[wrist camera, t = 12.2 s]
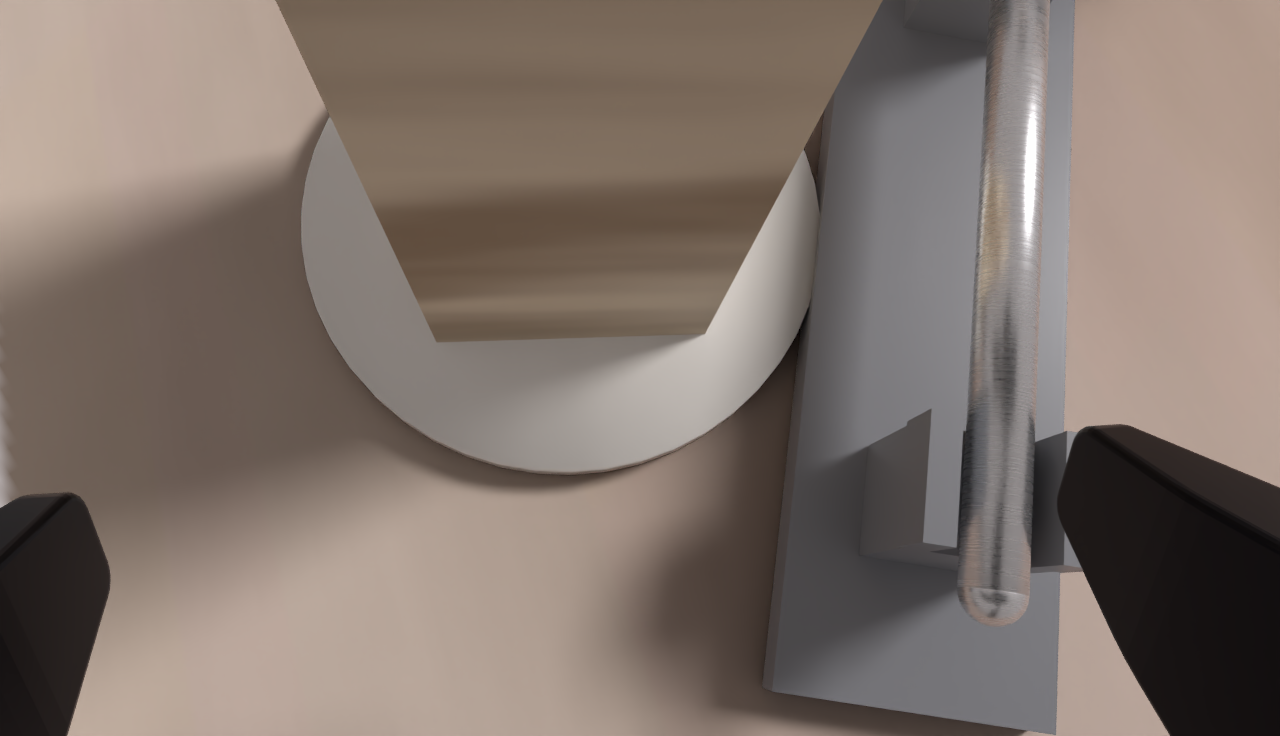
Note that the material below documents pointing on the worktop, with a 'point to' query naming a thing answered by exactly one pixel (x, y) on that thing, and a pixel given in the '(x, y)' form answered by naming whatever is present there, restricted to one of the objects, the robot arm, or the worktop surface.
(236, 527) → the worktop surface
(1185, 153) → the worktop surface
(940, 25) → the bar stand
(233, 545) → the worktop surface
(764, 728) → the worktop surface
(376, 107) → the beech block
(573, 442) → the coaster
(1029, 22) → the steel bar
